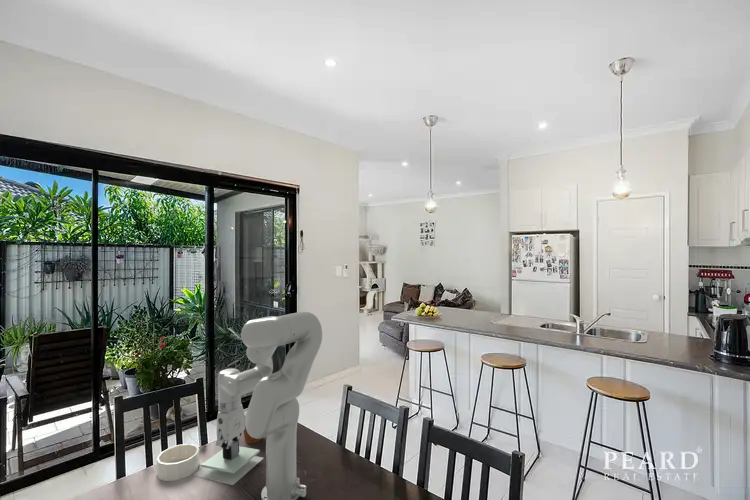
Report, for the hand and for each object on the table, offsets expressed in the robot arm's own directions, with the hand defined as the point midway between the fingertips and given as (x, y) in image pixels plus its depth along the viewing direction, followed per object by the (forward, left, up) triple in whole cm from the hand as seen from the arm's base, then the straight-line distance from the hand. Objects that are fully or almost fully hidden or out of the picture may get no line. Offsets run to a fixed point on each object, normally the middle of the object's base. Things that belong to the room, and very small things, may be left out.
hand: (231, 455), depth 134 cm
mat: (+1, 0, -5) cm, 5 cm away
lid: (0, 0, -1) cm, 1 cm away
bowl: (+17, +7, -5) cm, 19 cm away
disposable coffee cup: (+5, -19, -5) cm, 20 cm away
